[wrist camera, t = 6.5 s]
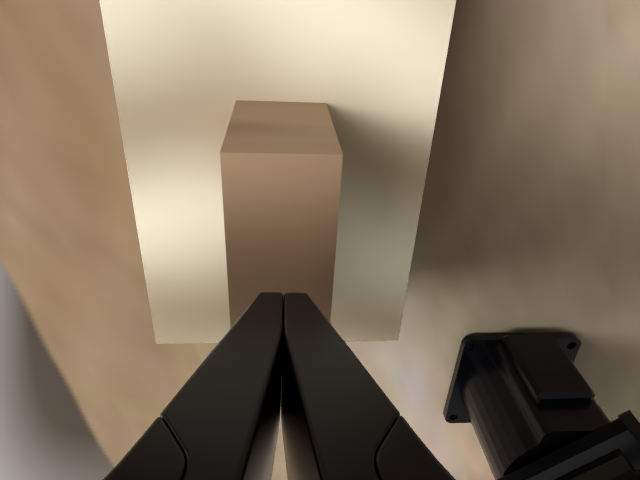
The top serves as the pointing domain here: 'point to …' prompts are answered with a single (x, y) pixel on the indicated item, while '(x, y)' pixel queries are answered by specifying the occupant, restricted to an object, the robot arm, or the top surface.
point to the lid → (277, 153)
